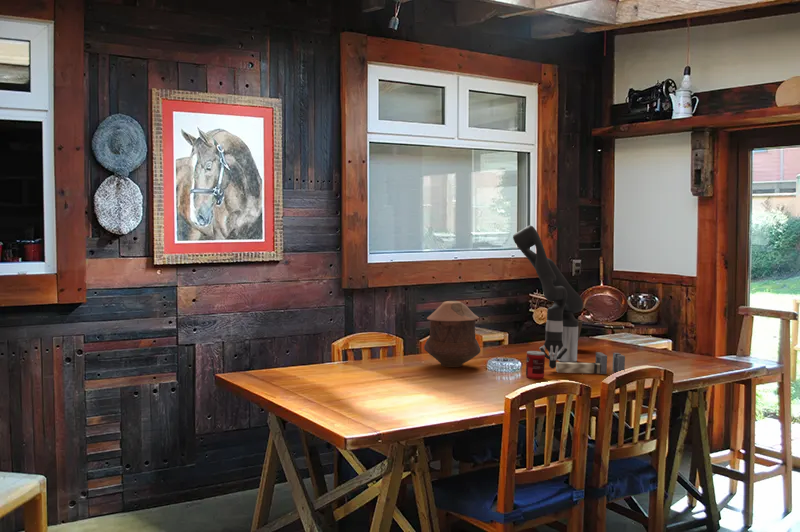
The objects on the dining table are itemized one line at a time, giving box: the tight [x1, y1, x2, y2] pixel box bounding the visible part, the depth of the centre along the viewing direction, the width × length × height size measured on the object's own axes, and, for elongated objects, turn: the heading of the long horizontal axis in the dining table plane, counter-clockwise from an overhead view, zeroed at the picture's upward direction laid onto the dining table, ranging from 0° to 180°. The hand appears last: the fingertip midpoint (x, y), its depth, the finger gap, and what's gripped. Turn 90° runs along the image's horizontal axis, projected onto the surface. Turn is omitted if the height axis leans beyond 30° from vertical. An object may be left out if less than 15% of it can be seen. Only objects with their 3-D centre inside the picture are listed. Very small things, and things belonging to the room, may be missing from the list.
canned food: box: [525, 350, 546, 380], centre depth 335 cm, size 8×8×11 cm
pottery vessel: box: [423, 300, 481, 368], centre depth 356 cm, size 26×26×30 cm
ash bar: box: [555, 361, 600, 374], centre depth 350 cm, size 20×4×4 cm, turn 91°
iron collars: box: [594, 351, 626, 375], centre depth 351 cm, size 10×9×8 cm
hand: (552, 368), depth 350 cm, fingers closed
